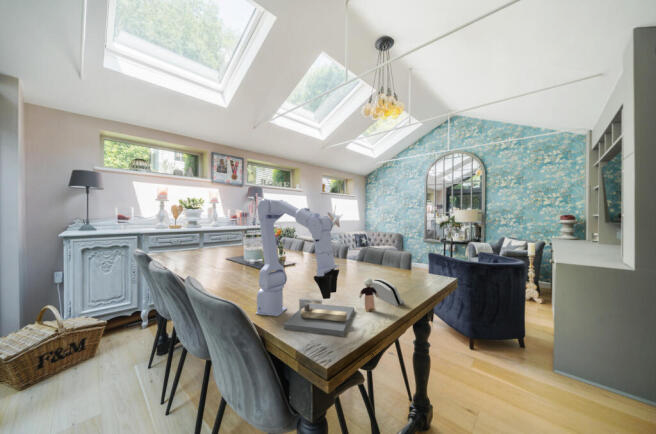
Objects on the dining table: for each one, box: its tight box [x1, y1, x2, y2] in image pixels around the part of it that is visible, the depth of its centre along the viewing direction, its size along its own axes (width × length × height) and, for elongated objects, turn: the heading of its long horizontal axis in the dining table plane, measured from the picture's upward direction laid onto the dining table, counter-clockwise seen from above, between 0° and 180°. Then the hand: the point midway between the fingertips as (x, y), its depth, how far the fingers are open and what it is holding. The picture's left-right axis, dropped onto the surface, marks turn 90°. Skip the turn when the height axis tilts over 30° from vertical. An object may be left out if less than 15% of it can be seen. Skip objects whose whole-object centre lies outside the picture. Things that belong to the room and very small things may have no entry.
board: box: [283, 303, 355, 337], centre depth 82 cm, size 20×20×2 cm
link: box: [301, 304, 347, 321], centre depth 79 cm, size 16×4×4 cm, turn 74°
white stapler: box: [371, 278, 406, 307], centre depth 101 cm, size 17×5×10 cm, turn 23°
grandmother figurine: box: [358, 277, 379, 313], centre depth 90 cm, size 8×4×13 cm, turn 108°
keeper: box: [298, 297, 323, 311], centre depth 87 cm, size 8×2×4 cm, turn 74°
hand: (330, 295), depth 73 cm, fingers open, 7 cm apart
